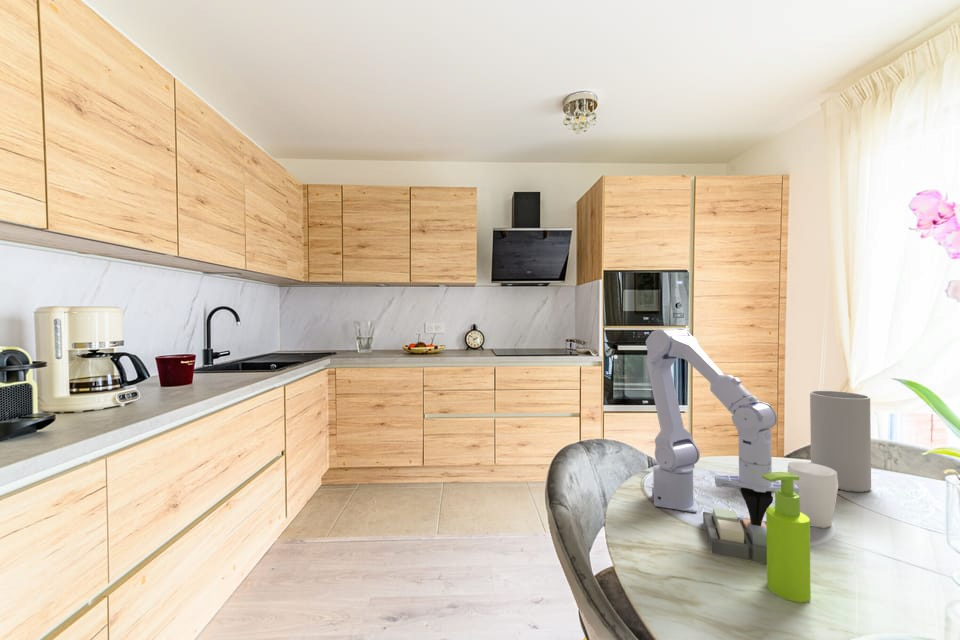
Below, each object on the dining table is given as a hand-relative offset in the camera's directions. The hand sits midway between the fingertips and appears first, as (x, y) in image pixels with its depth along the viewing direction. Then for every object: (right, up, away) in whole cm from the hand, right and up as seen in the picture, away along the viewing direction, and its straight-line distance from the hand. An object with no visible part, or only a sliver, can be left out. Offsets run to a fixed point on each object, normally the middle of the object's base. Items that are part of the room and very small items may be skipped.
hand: (755, 524), depth 84 cm
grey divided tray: (-4, -3, -1) cm, 5 cm away
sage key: (-5, -1, +2) cm, 6 cm away
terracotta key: (0, -2, 0) cm, 2 cm away
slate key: (-2, -1, -5) cm, 6 cm away
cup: (+18, -3, +8) cm, 20 cm away
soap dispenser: (-6, -3, -16) cm, 17 cm away
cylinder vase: (+43, -3, +28) cm, 51 cm away
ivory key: (-7, -1, -3) cm, 8 cm away
